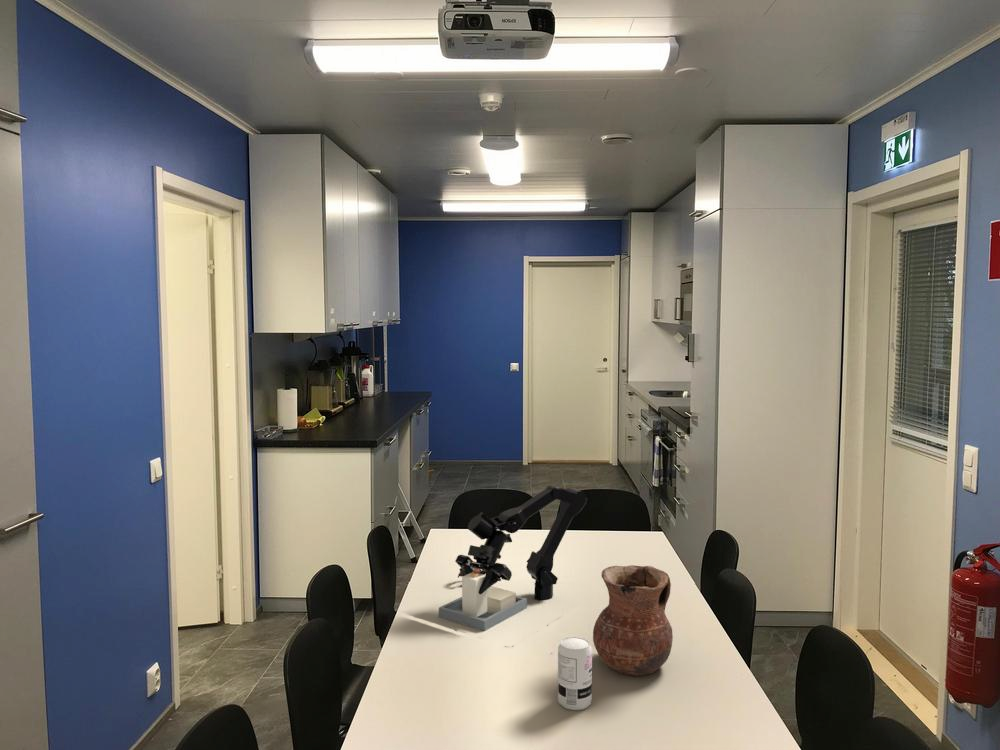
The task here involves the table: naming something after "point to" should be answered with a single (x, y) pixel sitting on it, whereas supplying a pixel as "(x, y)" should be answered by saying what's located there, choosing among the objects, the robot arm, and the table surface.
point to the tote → (483, 621)
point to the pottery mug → (462, 572)
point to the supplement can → (574, 673)
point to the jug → (634, 620)
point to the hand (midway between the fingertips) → (471, 591)
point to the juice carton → (473, 595)
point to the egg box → (499, 599)
